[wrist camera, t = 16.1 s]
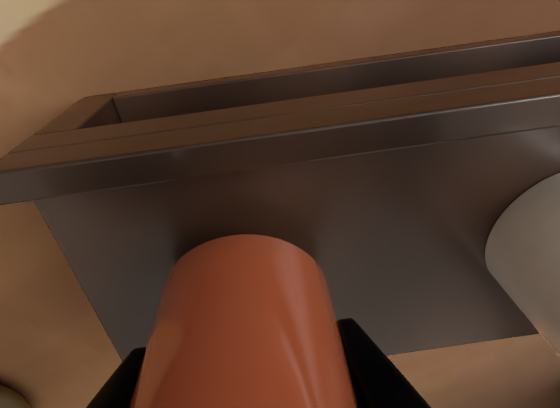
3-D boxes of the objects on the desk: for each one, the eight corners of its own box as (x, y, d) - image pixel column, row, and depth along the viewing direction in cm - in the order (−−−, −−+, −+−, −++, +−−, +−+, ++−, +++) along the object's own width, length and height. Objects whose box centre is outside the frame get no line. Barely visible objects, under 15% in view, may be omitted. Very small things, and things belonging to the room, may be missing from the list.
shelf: (636, 19, 13) (895, 46, 8) (558, 240, 18) (683, 344, 13) (84, 96, 13) (-25, 175, 8) (163, 296, 18) (130, 423, 13)
